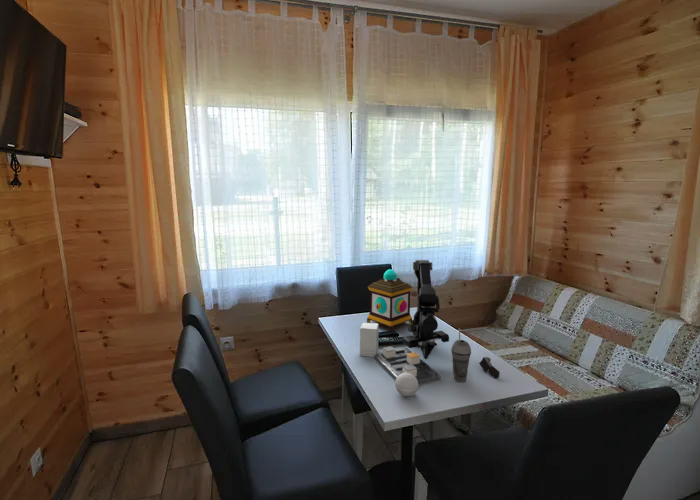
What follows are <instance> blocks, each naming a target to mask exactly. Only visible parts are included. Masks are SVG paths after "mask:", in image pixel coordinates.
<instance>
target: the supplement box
mask: <svg viewBox="0 0 700 500" xmlns="http://www.w3.org/2000/svg"><path fill="white" fill-rule="evenodd" d="M378 351H379V323H377V322H373V323H372V322H370V323H367V322H362V323H361V325H360V327H359V356H361V357H362V356H363V357H371V358H373V357H374V355H376V353H378Z"/></svg>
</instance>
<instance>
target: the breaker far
mask: <svg viewBox="0 0 700 500" xmlns="http://www.w3.org/2000/svg"><path fill="white" fill-rule="evenodd" d="M396 351H397V350H396V348H394V346H386V347H383V348H382V353H383V356H384V357H385V358H391V357H395V353H396Z"/></svg>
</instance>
